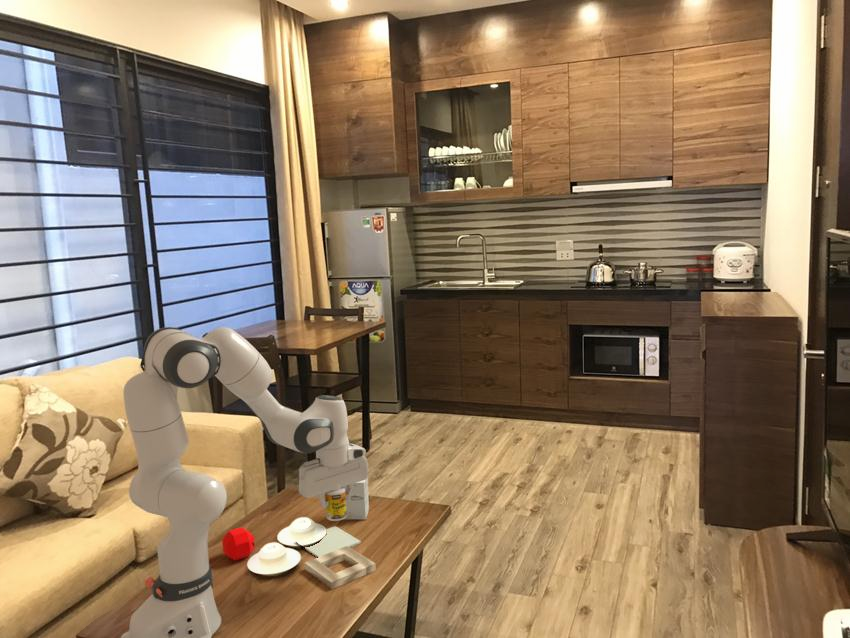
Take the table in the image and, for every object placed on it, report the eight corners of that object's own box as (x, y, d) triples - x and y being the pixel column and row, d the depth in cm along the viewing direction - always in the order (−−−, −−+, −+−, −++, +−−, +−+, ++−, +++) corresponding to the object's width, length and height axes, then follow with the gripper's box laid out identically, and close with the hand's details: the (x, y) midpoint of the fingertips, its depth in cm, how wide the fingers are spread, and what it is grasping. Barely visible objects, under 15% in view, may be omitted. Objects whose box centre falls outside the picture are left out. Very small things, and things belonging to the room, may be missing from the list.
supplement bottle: (331, 523, 182) (329, 487, 180) (322, 516, 187) (320, 480, 185) (350, 518, 185) (348, 482, 183) (341, 511, 190) (339, 476, 188)
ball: (257, 557, 196) (255, 532, 195) (230, 566, 192) (228, 540, 191) (248, 546, 203) (246, 522, 202) (221, 554, 199) (219, 530, 198)
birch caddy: (332, 589, 178) (331, 582, 178) (304, 569, 189) (304, 562, 188) (375, 570, 187) (375, 563, 186) (347, 552, 197) (347, 545, 197)
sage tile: (320, 559, 194) (319, 557, 194) (295, 542, 205) (295, 540, 204) (360, 543, 203) (360, 541, 203) (335, 527, 213) (335, 526, 213)
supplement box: (343, 520, 219) (341, 482, 217) (347, 510, 226) (345, 473, 224) (366, 520, 218) (364, 482, 216) (369, 510, 225) (367, 473, 223)
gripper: (304, 467, 174) (308, 518, 176) (370, 448, 187) (373, 496, 189) (292, 461, 179) (296, 511, 181) (357, 442, 192) (360, 489, 194)
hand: (335, 503), depth 185 cm, fingers closed on supplement bottle, 6 cm apart
